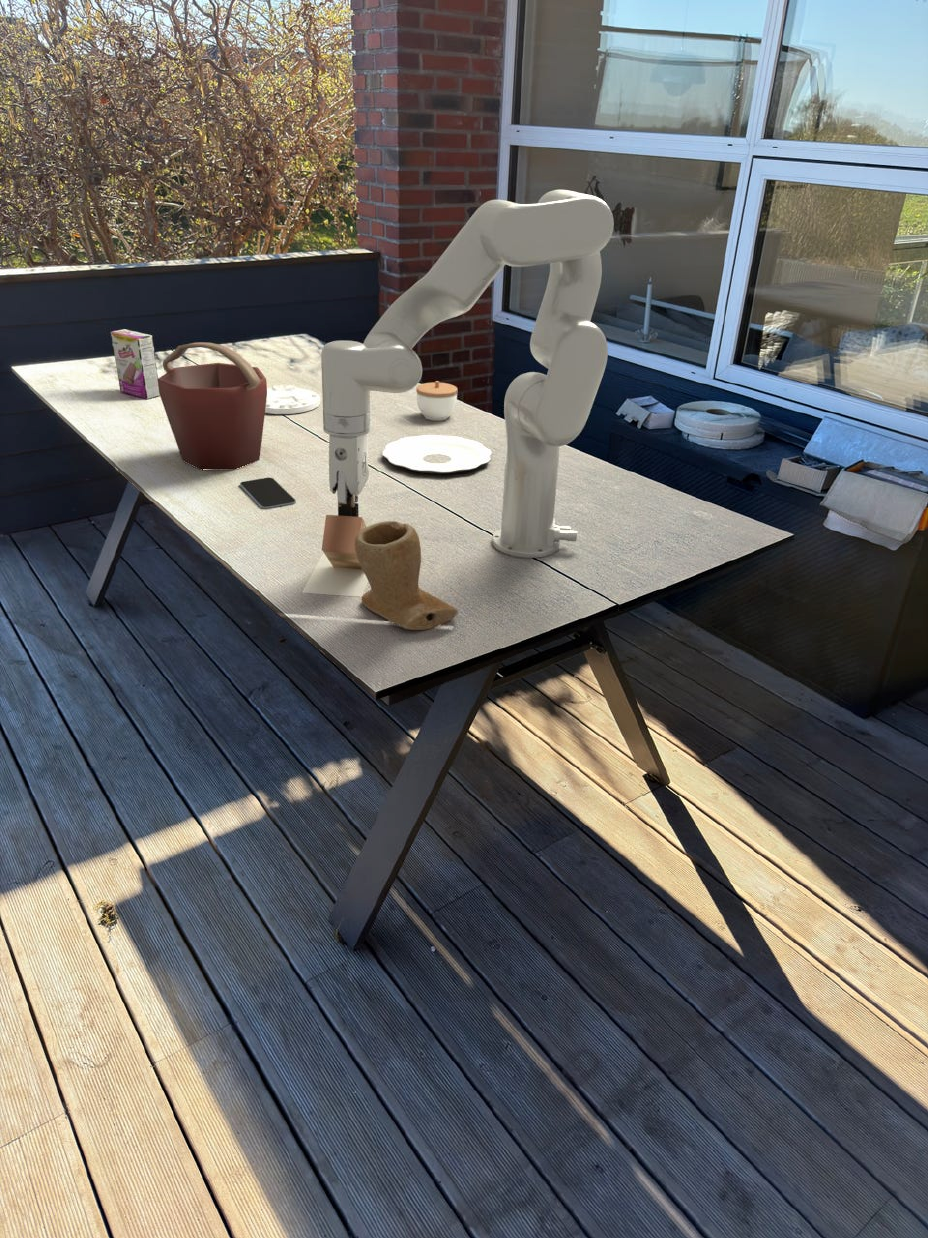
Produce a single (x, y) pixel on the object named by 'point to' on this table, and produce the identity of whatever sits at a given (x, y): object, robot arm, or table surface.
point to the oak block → (342, 540)
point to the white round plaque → (290, 400)
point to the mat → (336, 580)
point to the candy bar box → (135, 363)
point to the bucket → (215, 409)
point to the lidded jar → (436, 400)
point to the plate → (457, 448)
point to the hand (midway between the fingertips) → (348, 525)
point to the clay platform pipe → (397, 577)
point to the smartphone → (267, 493)
